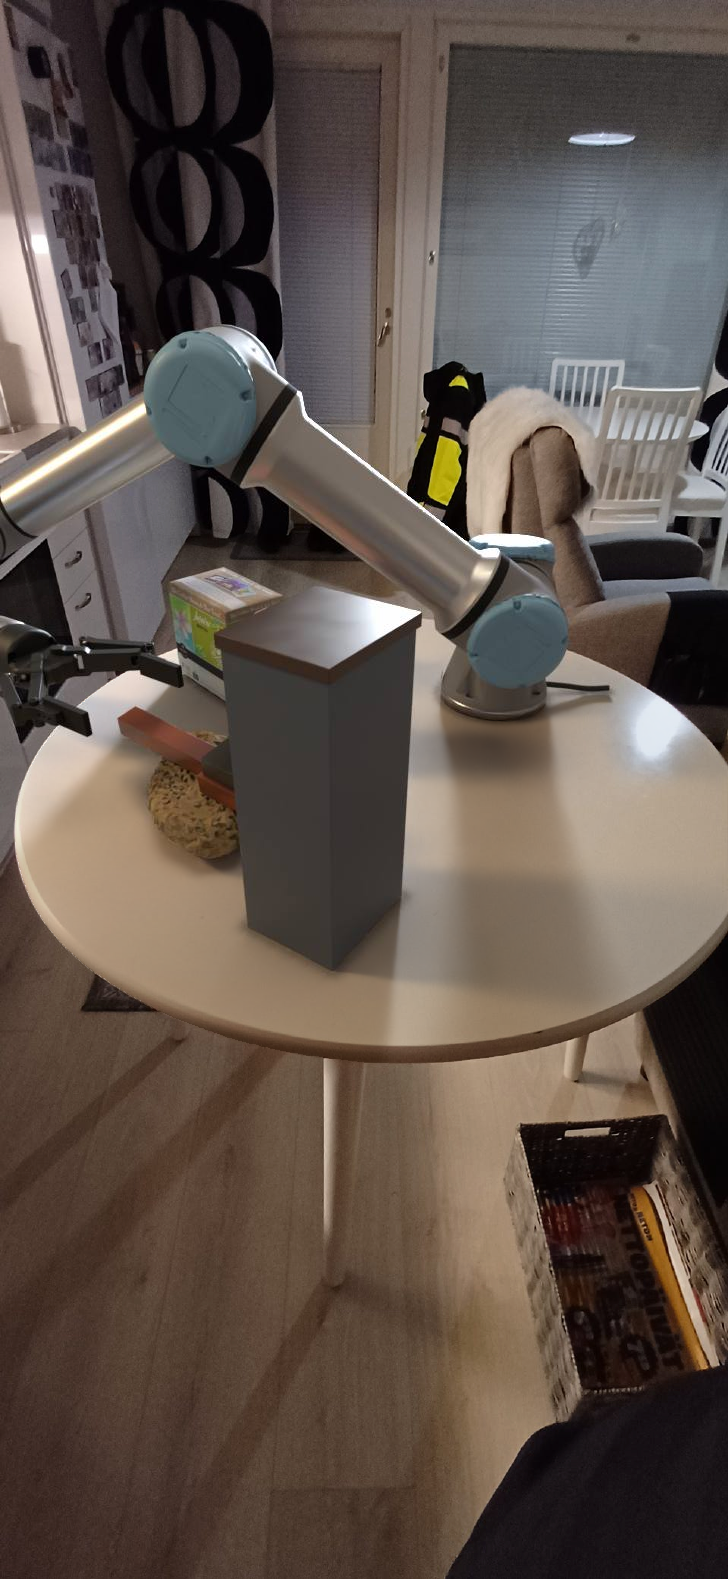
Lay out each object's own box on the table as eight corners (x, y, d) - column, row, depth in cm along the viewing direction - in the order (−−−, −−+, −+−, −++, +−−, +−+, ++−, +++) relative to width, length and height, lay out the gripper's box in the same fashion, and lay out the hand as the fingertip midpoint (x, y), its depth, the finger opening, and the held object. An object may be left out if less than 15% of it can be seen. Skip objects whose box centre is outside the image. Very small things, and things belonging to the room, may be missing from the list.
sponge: (173, 775, 98) (107, 846, 80) (181, 717, 95) (115, 777, 77) (274, 801, 98) (231, 878, 79) (285, 744, 95) (244, 810, 76)
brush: (108, 742, 88) (100, 710, 84) (150, 714, 91) (143, 682, 88) (259, 824, 79) (256, 791, 76) (298, 789, 83) (296, 756, 80)
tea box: (177, 673, 119) (164, 579, 110) (232, 655, 124) (224, 564, 116) (233, 709, 110) (224, 609, 101) (290, 688, 115) (285, 592, 107)
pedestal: (242, 927, 74) (212, 633, 57) (320, 857, 83) (314, 584, 66) (333, 974, 70) (329, 669, 53) (405, 895, 78) (422, 612, 61)
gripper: (100, 646, 106) (216, 687, 97) (-71, 720, 89) (50, 779, 80) (90, 593, 102) (210, 631, 93) (-92, 660, 85) (33, 714, 75)
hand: (136, 699), depth 86 cm, fingers open, 13 cm apart
